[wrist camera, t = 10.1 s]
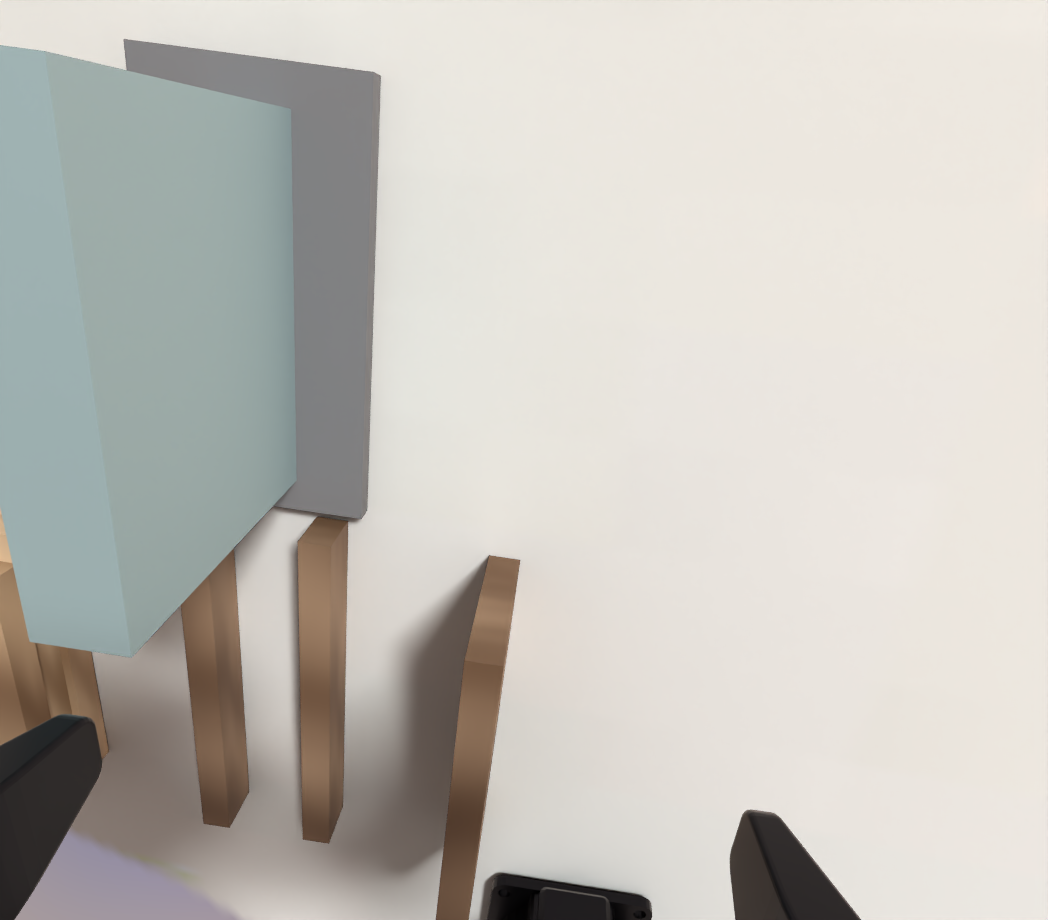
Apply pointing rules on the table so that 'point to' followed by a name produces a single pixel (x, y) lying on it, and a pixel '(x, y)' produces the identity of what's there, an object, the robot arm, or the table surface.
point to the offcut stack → (39, 669)
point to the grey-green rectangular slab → (137, 339)
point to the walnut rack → (340, 700)
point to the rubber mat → (315, 250)
